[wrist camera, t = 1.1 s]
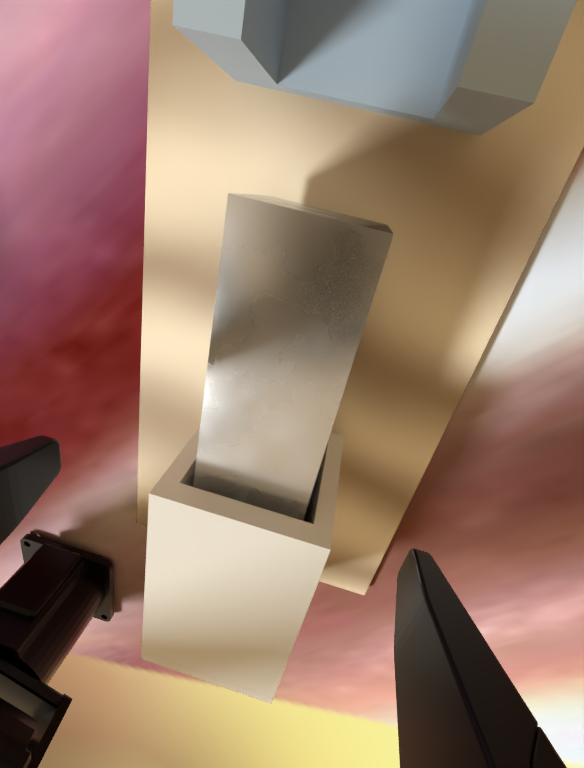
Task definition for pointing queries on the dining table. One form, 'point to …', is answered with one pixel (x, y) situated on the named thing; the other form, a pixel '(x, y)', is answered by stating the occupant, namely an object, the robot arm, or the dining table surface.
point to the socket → (388, 52)
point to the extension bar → (282, 345)
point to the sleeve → (231, 577)
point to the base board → (400, 271)
